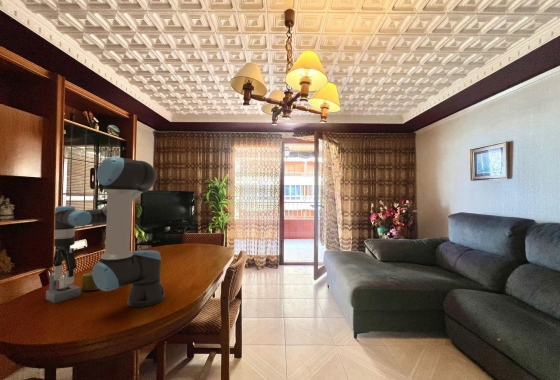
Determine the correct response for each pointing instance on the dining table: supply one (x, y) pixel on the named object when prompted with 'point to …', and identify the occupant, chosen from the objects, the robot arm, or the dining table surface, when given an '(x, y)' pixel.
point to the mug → (88, 283)
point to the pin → (62, 282)
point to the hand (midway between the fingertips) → (63, 281)
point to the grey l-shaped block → (59, 296)
